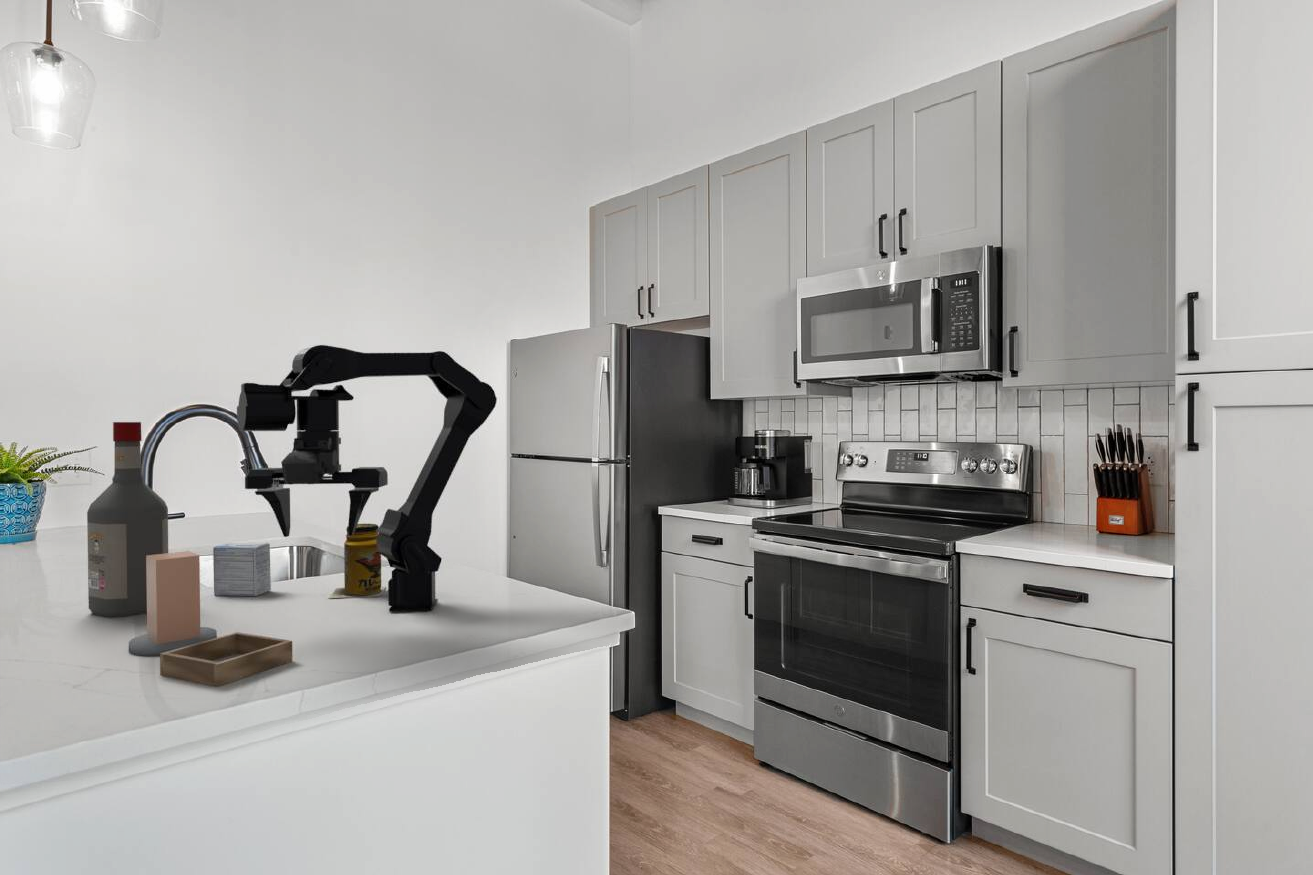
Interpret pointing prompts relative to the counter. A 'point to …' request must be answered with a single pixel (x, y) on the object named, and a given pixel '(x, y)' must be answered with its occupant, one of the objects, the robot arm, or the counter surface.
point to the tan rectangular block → (173, 596)
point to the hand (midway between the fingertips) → (319, 535)
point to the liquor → (124, 532)
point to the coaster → (149, 648)
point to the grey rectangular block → (241, 569)
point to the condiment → (361, 564)
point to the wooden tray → (201, 668)
